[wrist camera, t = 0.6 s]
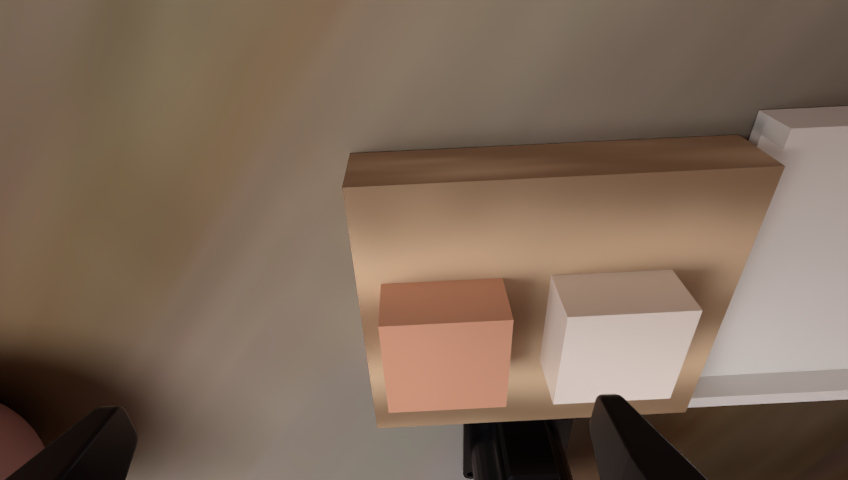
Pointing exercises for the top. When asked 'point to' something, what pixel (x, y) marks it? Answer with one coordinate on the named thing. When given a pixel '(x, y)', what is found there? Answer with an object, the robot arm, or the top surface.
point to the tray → (790, 274)
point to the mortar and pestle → (16, 442)
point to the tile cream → (616, 335)
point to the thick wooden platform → (555, 239)
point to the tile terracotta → (445, 344)
